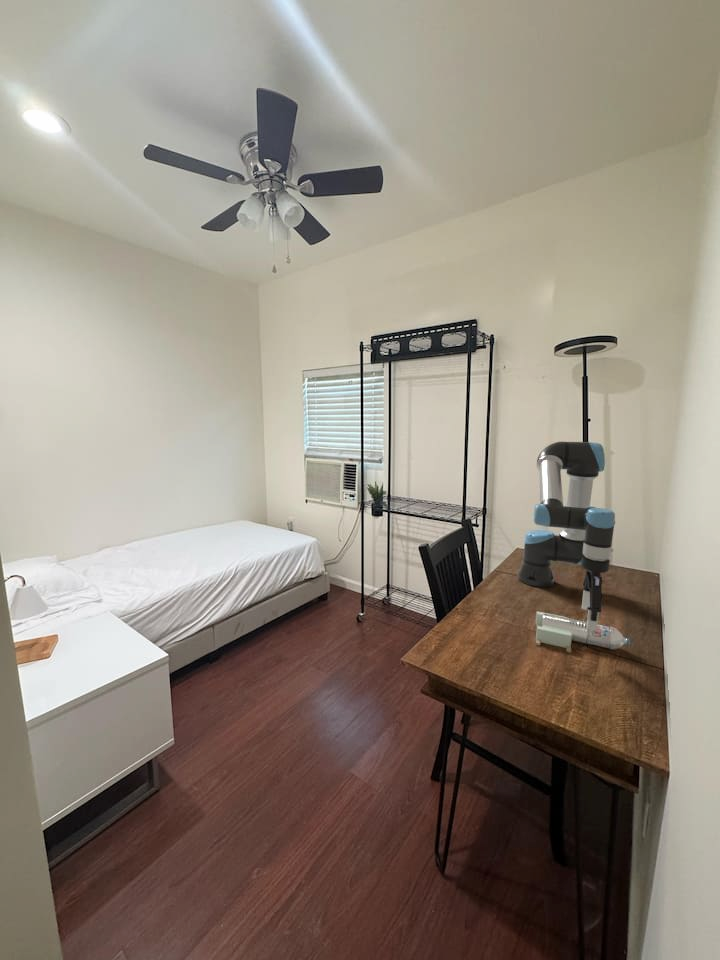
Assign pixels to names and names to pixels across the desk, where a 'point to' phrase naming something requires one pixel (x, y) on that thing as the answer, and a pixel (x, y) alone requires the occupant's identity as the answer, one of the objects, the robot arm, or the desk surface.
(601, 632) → the water bottle
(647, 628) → the desk surface
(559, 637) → the u rest
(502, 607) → the desk surface
